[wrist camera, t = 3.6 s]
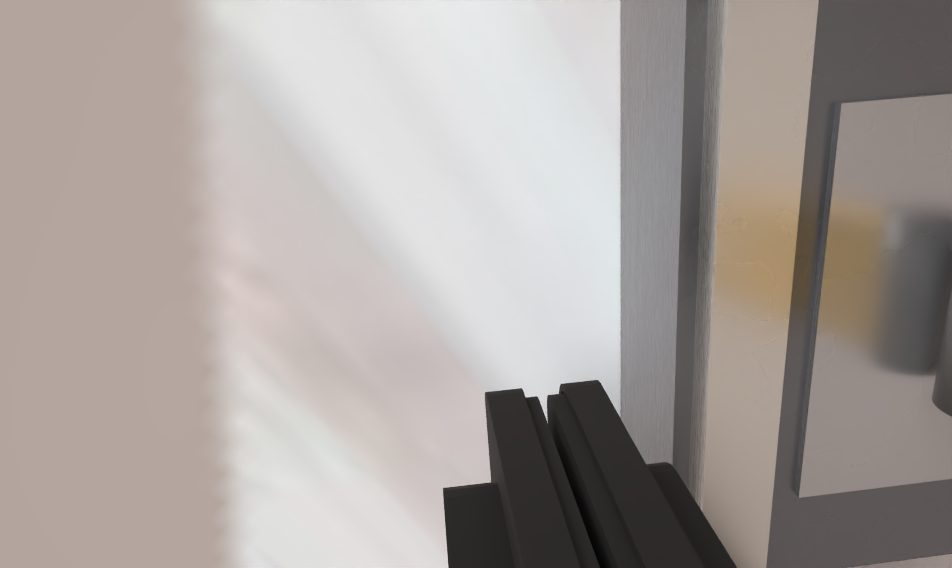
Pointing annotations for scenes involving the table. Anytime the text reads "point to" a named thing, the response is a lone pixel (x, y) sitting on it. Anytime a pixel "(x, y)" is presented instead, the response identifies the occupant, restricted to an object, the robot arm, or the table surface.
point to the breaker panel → (791, 269)
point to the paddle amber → (945, 368)
